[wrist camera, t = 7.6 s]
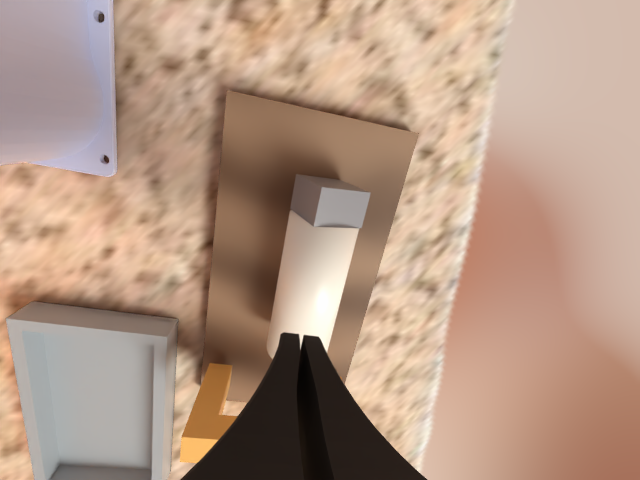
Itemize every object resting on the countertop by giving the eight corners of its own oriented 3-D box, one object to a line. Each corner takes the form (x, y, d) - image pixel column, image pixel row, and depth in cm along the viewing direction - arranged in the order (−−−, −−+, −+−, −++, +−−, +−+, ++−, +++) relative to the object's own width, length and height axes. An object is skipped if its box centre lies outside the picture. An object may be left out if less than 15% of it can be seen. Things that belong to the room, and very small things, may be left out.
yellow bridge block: (209, 363, 21) (181, 437, 16) (341, 376, 23) (354, 449, 17) (207, 384, 22) (180, 461, 17) (335, 396, 23) (346, 472, 18)
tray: (32, 301, 20) (5, 318, 18) (178, 319, 22) (167, 336, 20) (55, 464, 26) (36, 490, 24) (170, 471, 27) (161, 496, 25)
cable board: (230, 91, 17) (226, 89, 16) (412, 133, 18) (418, 133, 17) (203, 387, 24) (199, 398, 23) (335, 400, 25) (336, 410, 24)
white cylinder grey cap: (284, 171, 16) (317, 188, 13) (343, 179, 19) (384, 195, 15) (258, 332, 20) (279, 377, 17) (310, 324, 22) (337, 362, 19)
